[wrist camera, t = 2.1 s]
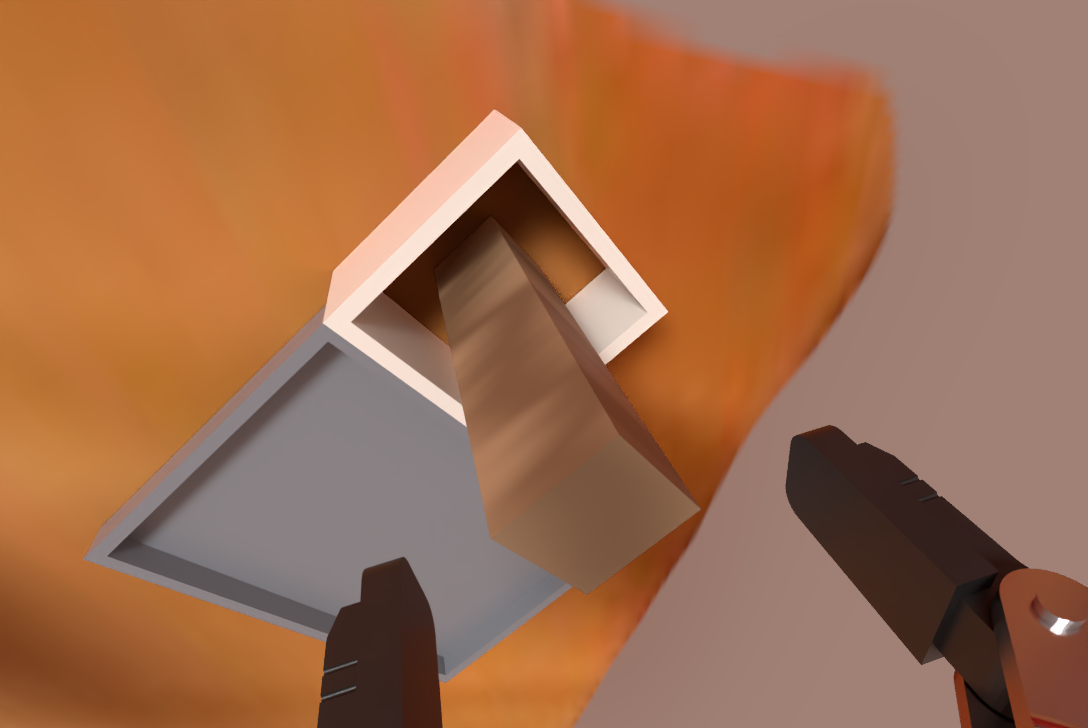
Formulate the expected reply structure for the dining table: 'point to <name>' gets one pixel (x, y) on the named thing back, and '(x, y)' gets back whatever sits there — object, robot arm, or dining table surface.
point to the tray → (327, 505)
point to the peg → (550, 421)
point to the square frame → (438, 201)
